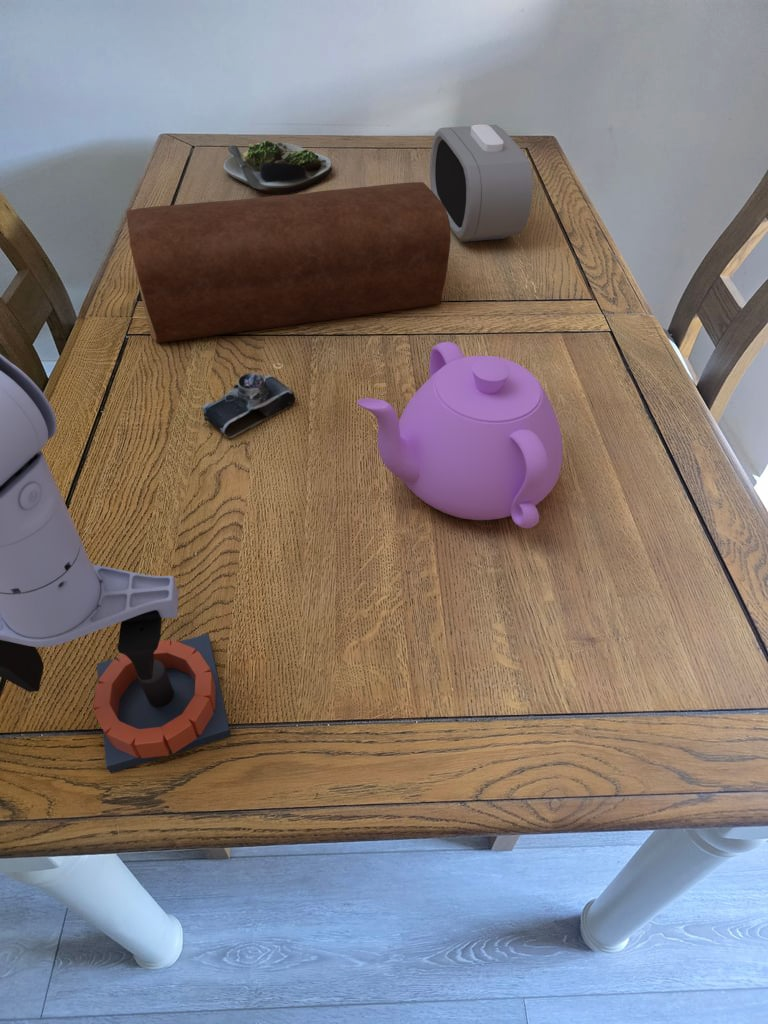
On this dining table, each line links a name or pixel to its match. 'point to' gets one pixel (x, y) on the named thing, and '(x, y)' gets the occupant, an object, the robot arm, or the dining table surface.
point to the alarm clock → (481, 181)
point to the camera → (248, 404)
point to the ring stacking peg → (165, 705)
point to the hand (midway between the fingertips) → (92, 673)
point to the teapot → (474, 438)
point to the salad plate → (277, 167)
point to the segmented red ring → (173, 732)
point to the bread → (288, 259)
